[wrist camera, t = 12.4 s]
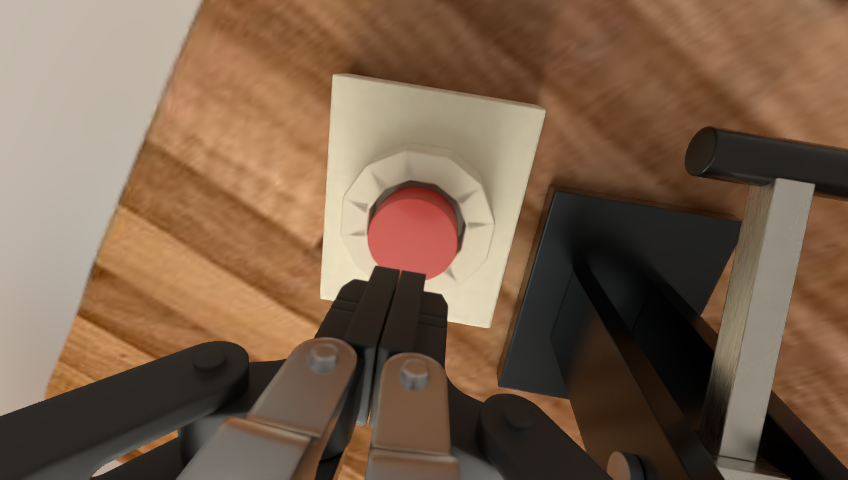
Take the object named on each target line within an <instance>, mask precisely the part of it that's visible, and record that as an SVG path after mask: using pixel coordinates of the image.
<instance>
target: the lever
mask: <svg viewBox="0 0 848 480" xmlns="http://www.w3.org/2000/svg"><path fill="white" fill-rule="evenodd" d="M685 168H686V170H687V172H688V173H689V174H690V175H692V176H697V177H703V178H709V179H715V180H721V181H727V182H733V183H739V184H745V185H749V190H748V195H747V200H746V205H745V209H744V214H743V219H742V224H741V229H740V234H739V238H738V243H737V248H736V253H735V258H734V262H733V267H732V272H731V277H730V282H729V286H728V291H727V296H726V301H725V306H724V311H723V315H722V320H721V325H720V330H719V335H718V339H717V344H716V349H715V354H714V359H713V364H712V368H711V373H710V378H709V383H708V388H707V392H706V397H705V402H704V407H703V412H702V417H701V421H700V426H699V430H694V429H693V430H694V432H695V433H696V435H697V437H698V438H699V440H700V441H701V443H702V444H703V446H704V448H705V449H706V451H707V452H708V454H709V455H710V457H711V458H712V460H713V462H714V463H715V465H716V466H717V468H718V469H719V471H720V473H721V474H722V476H723V477H724V479H725V480H792V479H791V478H790V477H788V476H787V475H785V474H784V473H783V472H781V471H780V470H778V469H777V468H776V467H774V466H773V465H771V464H770V463H769V462H767V461H766V460H765V459H763V458H762V457H760V456H759V455H758V454H757V453H758V449H759V444H760V440H761V435H762V430H763V426H764V421H765V416H766V412H767V407H768V402H769V398H770V393H771V388H772V384H773V379H774V374H775V370H776V365H777V360H778V356H779V351H780V346H781V342H782V337H783V333H784V328H785V323H786V319H787V314H788V309H789V305H790V300H791V295H792V291H793V286H794V281H795V277H796V272H797V267H798V263H799V258H800V253H801V249H802V244H803V239H804V235H805V230H806V225H807V221H808V216H809V212H810V207H811V202H812V198H813V196H816V197H822V198H828V199H834V200H840V201H846V202H848V149H846V148H840V147H834V146H828V145H822V144H816V143H810V142H804V141H798V140H792V139H785V138H779V137H773V136H767V135H761V134H755V133H749V132H743V131H737V130H731V129H725V128H719V127H713V126H708V127H704V128H702V129H701V130H699V131H698V132H697V133H696V134H695V136H694V137H693V138H692V140H691V142H690V143H689V146H688V148H687V151H686V155H685Z"/></svg>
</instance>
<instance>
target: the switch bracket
mask: <svg viewBox="0 0 848 480" xmlns="http://www.w3.org/2000/svg"><path fill="white" fill-rule="evenodd" d="M741 224H742V220H740V219H738V218H736V217H735V216H733V215H730V214H724V213H718V212H712V211H706V210H700V209H694V208H688V207H682V206H677V205H671V204H665V203H659V202H653V201H647V200H641V199H635V198H629V197H623V196H618V195H612V194H606V193H600V192H594V191H588V190H582V189H576V188H570V187H565V186H559V185H553V184H551V185H550V186H549V190H548V193H547V197H546V200H545V204H544V208H543V211H542V215H541V218H540V222H539V225H538V229H537V232H536V236H535V239H534V243H533V247H532V250H531V254H530V257H529V261H528V264H527V268H526V271H525V275H524V278H523V282H522V286H521V289H520V293H519V296H518V300H517V303H516V307H515V310H514V314H513V317H512V321H511V324H510V328H509V332H508V335H507V339H506V342H505V346H504V349H503V353H502V356H501V360H500V363H499V367H498V371H497V379H498V386H499V387H503V388H509V389H514V390H520V391H526V392H531V393H537V394H542V395H548V396H553V397H559V398H565V399H569V400H570V403H571V406H572V409H573V412H574V415H575V418H576V421H577V424H578V427H579V430H580V434H581V437H582V440H583V443H584V446H585V449H586V452H587V454H588V455H589V456H590V457H591V458H592V459H593V460H594V461H595V462H596V463H597V464H598V465H599V466H600V467H601V468H602V469H603V470H605V471H606V472H607V473H608V474H609V475H610V476H611V477H612V478H613V479H614V480H725V479H724V477H723V476H722V474H721V473H720V471H719V469H718V468H717V466H716V465H715V463H714V462H713V460H712V458H711V457H710V455H709V454H708V452H707V451H706V449H705V448H704V446H703V444H702V443H701V441H700V440H699V438H698V437H697V435H696V433H695V432H694V430H699V426H700V421H701V417H702V412H703V407H704V402H705V397H706V392H707V388H708V383H709V378H710V373H711V368H712V364H713V359H714V354H715V349H716V344H717V339H718V334H717V333H716V332H715V331H714V330H713V329H712V327H711V326H710V325H709V324H708V323H707V322H706V321H705V320H704V319H703V318H702V317H701V314H702V312H703V310H704V308H705V306H706V304H707V302H708V300H709V298H710V296H711V294H712V292H713V290H714V288H715V286H716V284H717V282H718V280H719V278H720V276H721V274H722V272H723V270H724V268H725V266H726V264H727V262H728V260H729V258H730V256H731V254H732V252H733V250H734V248H735V246H736V244H737V242H738V238H739V234H740V229H741ZM693 429H694V430H693ZM757 454H758V455H759V456H760V457H762V458H763V459H765V460H766V461H767V462H769V463H770V464H771V465H773V466H774V467H776V468H777V469H778V470H780V471H781V472H783V473H784V474H785V475H787V476H788V477H790V478H791V479H792V480H848V469H847V468H846V467H845V466H844V465H843V464H842V463H841V462H840V460H839V459H838V458H837V457H836V456H835V455H834V454H833V453H832V452H831V451H830V450H829V449H828V448H827V447H826V446H825V445H824V444H823V443H822V442H821V441H820V440H819V439H818V438H817V437H816V436H815V434H814V433H813V432H812V431H811V430H810V429H809V428H808V427H807V426H806V425H805V424H804V423H803V422H802V421H801V420H800V419H799V418H798V417H797V416H796V415H795V414H794V413H793V412H792V411H791V410H790V409H789V407H788V406H787V405H786V404H785V403H784V402H783V401H782V400H781V399H780V398H779V397H778V396H777V395H776V394H775V393H774V392H773V391H772V390H771V393H770V398H769V402H768V407H767V412H766V416H765V421H764V426H763V430H762V435H761V440H760V444H759V449H758V453H757Z"/></svg>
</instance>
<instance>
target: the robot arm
mask: <svg viewBox="0 0 848 480" xmlns="http://www.w3.org/2000/svg"><path fill="white" fill-rule="evenodd" d="M399 277H400V278H399ZM425 280H426V274H423V273H417V272H411V271H406V270H402V271H401V275H400V269H394V268H388V267H382V266H377V265H375V267H374V269H373V271H372V274H371V276H370V278H369V281H364V280H359V279H353V280H351V281H350V282H348V283H347V284H345V285H344V286H342V287H341V289H340V291H339V293H338V295H337V297H336V299H335V300H334V302H333V304H332V306H331V308H330V309H329V311H328V313H327V315H326V317H325V319H324V321H323V322H322V324H321V326H320V328H319V330H318V332H317V333H316V335H315V337H314V339H310V340H307V341H305V342H303V343H301V344H300V345H298V346H297V347H296V348H295V349H294V350H293V351H292V353H291V354H290V356H289V357H288V358H287V359H283V360H278V361H265V362H249V356H248V353H247V352H246V350H245V349H244V348H242V347H241V346H239V345H237V344H235V343H231V342H225V341H214V342H207V343H202V344H199V345H196V346H193V347H190V348H188V349H185V350H182V351H179V352H176V353H174V354H171V355H168V356H165V357H163V358H160V359H157V360H154V361H152V362H149V363H146V364H143V365H141V366H138V367H135V368H132V369H130V370H127V371H124V372H121V373H119V374H116V375H113V376H110V377H107V378H105V379H102V380H99V381H96V382H94V383H91V384H88V385H85V386H83V387H80V388H77V389H74V390H72V391H69V392H66V393H63V394H61V395H58V396H55V397H52V398H50V399H47V400H44V401H41V402H38V403H36V404H33V405H30V406H28V407H25V408H22V409H19V410H16V411H14V412H11V413H8V414H5V415H3V416H0V480H337V479H338V476H339V473H340V471H341V468H342V466H343V463H344V461H345V458H346V455H347V450H348V444H349V443H350V440H351V438H352V434H353V431H354V428H355V424H357V425H363V426H366V424H367V420H368V416H369V412H370V409H371V413H370V420H369V427H373V431H372V438H371V444H370V448H369V454H368V461H367V467H366V474H365V480H614V479H613V478H612V477H611V476H610V475H609V474H608V473H607V472H606V471H605V470H603V469H602V468H601V467H600V466H599V465H598V464H597V463H596V462H595V461H594V460H593V459H592V458H591V457H590V456H589V455H588V454H587V453H586V452H585V451H584V450H583V449H582V448H581V447H580V446H579V445H578V444H576V443H575V442H574V441H573V440H572V439H571V438H570V437H569V436H568V435H567V434H566V433H565V432H564V431H563V430H562V429H561V428H560V427H559V426H558V425H557V424H556V423H555V422H554V421H553V420H552V419H550V418H549V417H548V416H547V415H546V414H545V413H544V412H543V411H542V410H541V409H540V408H539V407H538V406H537V405H535V404H534V403H532V402H531V401H529V400H527V399H525V398H523V397H520V396H517V395H514V394H496V395H493V396H491V397H489V398H488V399H487V400H486V401H485V402H484V403H483V402H481V401H478V400H476V399H474V398H472V397H470V396H468V395H466V394H464V393H462V392H461V391H459V390H458V389H457V388H456V387H455V386H454V385H453V384H452V383H451V382H450V380H449V379H448V377H447V375H446V372H445V352H446V335H447V318H448V304H447V302H446V301H445V299H444V297H443V295H442V294H439V293H433V292H427V291H424V285H425ZM175 430H177V431H178V437H177V438H175V439H173V440H171V441H169V442H167V443H165V444H163V445H161V446H159V447H157V448H155V449H153V450H151V451H149V452H147V453H145V454H143V455H141V456H139V457H137V458H135V459H133V460H130V461H128V462H126V463H124V464H122V465H120V466H118V467H116V468H114V469H112V470H111V471H108V472H106V473H104V474H102V475H99V476H96V477H92V475H93V474H94V473H95V472H96V471H97V470H98V469H100V468H101V467H102V466H104V465H105V464H107V463H109V462H111V461H113V460H115V459H117V458H119V457H121V456H123V455H125V454H127V453H129V452H131V451H134V450H136V449H138V448H140V447H142V446H144V445H146V444H148V443H150V442H152V441H154V440H156V439H158V438H160V437H162V436H165V435H167V434H169V433H171V432H173V431H175Z"/></svg>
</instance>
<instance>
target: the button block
mask: <svg viewBox="0 0 848 480" xmlns="http://www.w3.org/2000/svg"><path fill="white" fill-rule="evenodd" d="M545 114H546V109H544V108H542V107H540V106H538V105H535V104H529V103H523V102H517V101H511V100H505V99H499V98H493V97H487V96H481V95H475V94H469V93H463V92H457V91H451V90H445V89H439V88H433V87H427V86H421V85H415V84H409V83H402V82H396V81H390V80H384V79H378V78H372V77H366V76H360V75H354V74H348V73H344V74H333V78H332V95H331V112H330V130H329V147H328V164H327V182H326V199H325V216H324V234H323V251H322V268H321V285H320V298H321V299H326V300H332V301H334V300H335V299H336V297H337V295H338V293H339V291H340V289H341V287H342V286H344V285H345V284H347V283H348V282H350V281H351V280H353V279H359V280H364V281H369V278H370V276H371V274H372V271H373V269H374V267H375V265H377V263H376V262H375V260H374V259H373V257H372V255H371V253H370V250H369V246H368V239H367V238H368V229H369V226H370V223H371V221H372V219H373V217H374V215H375V214H376V212H377V210H378V208H379V207H380V205H381V204H382V202H383V201H384V200H385V199H386V198H387V197H388V196H389V195H390V194H391V193H393V192H395V191H396V190H399V189H401V188H405V187H410V186H420V187H426V188H429V189H432V190H434V191H436V192H438V193H440V194H441V195H443V196H444V197H445V198H446V199H447V200H448V201H449V202H450V204H451V205H452V207H453V208H454V210H455V213H456V215H457V219H458V247H457V252H456V255H455V257H454V260H453V261H452V263H451V264H450V266H449V267H448V268H447V269H446V270H445V271H444V272H442V273H441V274H440V275H438V276H436V277H434V278H432V279H429V280H425V285H424V291H427V292H433V293H439V294H442V295H443V297H444V299H445V301H446V302H447V304H448V318H447V321H450V322H456V323H462V324H467V325H473V326H479V327H484V328H490V326H491V322H492V318H493V315H494V311H495V307H496V303H497V299H498V295H499V291H500V288H501V284H502V280H503V276H504V272H505V268H506V264H507V261H508V257H509V253H510V249H511V245H512V241H513V237H514V234H515V230H516V226H517V222H518V218H519V214H520V210H521V207H522V203H523V199H524V195H525V191H526V187H527V184H528V180H529V176H530V172H531V168H532V164H533V160H534V157H535V153H536V149H537V145H538V141H539V137H540V133H541V130H542V126H543V122H544V118H545ZM377 266H378V265H377Z"/></svg>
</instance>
